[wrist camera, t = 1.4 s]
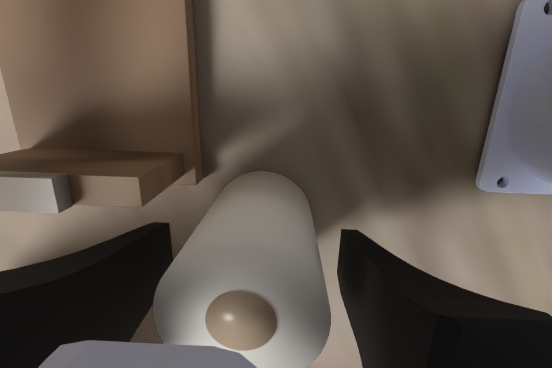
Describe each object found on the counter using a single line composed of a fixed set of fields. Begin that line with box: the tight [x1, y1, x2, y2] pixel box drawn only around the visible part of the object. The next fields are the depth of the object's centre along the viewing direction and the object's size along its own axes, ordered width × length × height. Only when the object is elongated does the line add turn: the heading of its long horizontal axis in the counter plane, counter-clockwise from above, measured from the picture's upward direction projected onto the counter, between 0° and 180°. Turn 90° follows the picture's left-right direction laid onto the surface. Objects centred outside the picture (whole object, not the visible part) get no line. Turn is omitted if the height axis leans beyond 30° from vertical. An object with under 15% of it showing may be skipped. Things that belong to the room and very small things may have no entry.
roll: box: [153, 171, 331, 368], centre depth 11 cm, size 5×5×7 cm
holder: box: [0, 0, 202, 213], centre depth 10 cm, size 8×11×6 cm
